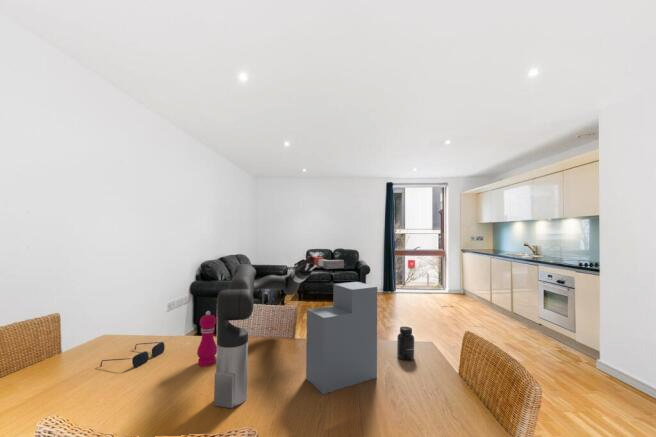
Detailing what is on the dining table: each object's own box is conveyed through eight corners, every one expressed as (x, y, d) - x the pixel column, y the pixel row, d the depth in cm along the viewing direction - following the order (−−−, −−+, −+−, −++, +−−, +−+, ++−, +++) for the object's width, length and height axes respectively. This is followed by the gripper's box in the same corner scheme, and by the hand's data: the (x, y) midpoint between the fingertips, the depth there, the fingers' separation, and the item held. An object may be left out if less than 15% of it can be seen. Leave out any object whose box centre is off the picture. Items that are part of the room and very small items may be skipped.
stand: (306, 378, 107) (307, 286, 108) (356, 364, 119) (357, 281, 120) (323, 394, 97) (324, 292, 98) (376, 377, 108) (377, 286, 109)
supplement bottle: (410, 362, 121) (410, 332, 121) (394, 358, 125) (394, 328, 125) (416, 357, 126) (416, 327, 127) (401, 352, 130) (401, 324, 131)
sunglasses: (134, 370, 112) (133, 357, 113) (99, 372, 115) (98, 359, 115) (166, 352, 129) (164, 340, 130) (135, 354, 132) (134, 342, 132)
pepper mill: (220, 359, 122) (221, 308, 123) (211, 367, 115) (212, 313, 115) (202, 358, 123) (204, 308, 123) (193, 366, 115) (194, 313, 116)
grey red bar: (303, 263, 138) (303, 256, 139) (318, 262, 143) (318, 255, 143) (326, 268, 120) (327, 260, 120) (343, 267, 124) (344, 260, 124)
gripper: (286, 266, 147) (300, 250, 134) (312, 264, 154) (327, 249, 142) (289, 280, 144) (303, 265, 131) (315, 278, 151) (331, 264, 138)
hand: (316, 257), depth 136 cm, fingers closed on grey red bar, 3 cm apart
